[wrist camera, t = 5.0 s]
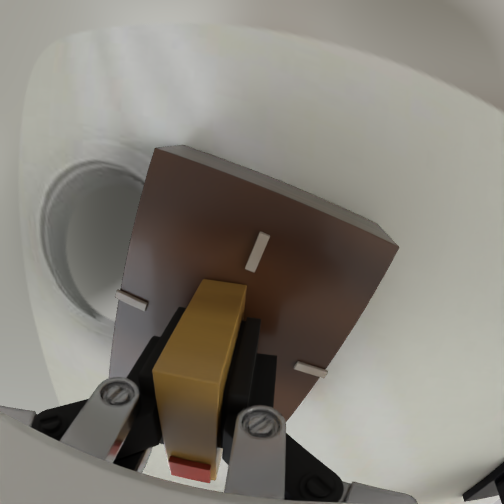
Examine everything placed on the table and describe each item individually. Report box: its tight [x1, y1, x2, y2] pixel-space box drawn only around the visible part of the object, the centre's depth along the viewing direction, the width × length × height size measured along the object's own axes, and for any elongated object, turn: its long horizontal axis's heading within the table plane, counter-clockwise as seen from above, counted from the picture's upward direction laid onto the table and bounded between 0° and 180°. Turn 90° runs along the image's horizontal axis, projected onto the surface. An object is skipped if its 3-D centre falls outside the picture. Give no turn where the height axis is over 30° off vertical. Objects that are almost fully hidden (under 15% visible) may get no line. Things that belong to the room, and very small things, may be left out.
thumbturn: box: [152, 279, 247, 483], centre depth 10 cm, size 5×2×5 cm, turn 174°
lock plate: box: [109, 145, 399, 423], centre depth 13 cm, size 12×9×3 cm
